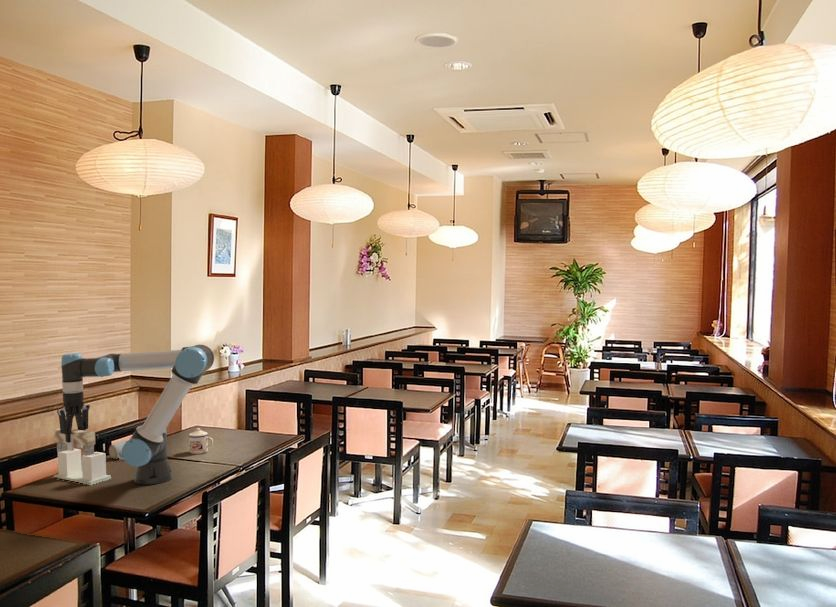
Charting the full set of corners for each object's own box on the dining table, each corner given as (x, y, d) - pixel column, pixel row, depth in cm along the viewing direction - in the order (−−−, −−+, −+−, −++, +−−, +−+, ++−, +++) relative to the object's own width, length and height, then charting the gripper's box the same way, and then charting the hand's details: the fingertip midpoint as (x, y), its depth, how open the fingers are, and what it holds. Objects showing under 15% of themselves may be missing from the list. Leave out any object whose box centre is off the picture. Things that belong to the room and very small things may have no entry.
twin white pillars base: (111, 479, 300) (110, 452, 300) (90, 485, 291) (89, 458, 291) (74, 472, 311) (73, 447, 311) (53, 478, 302) (52, 452, 302)
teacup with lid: (186, 454, 340) (185, 430, 340) (193, 449, 350) (193, 426, 349) (209, 454, 339) (208, 430, 339) (216, 449, 348) (216, 426, 348)
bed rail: (95, 454, 280) (94, 431, 280) (88, 456, 277) (87, 433, 277) (63, 449, 289) (62, 427, 289) (55, 451, 286) (54, 429, 286)
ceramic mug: (108, 458, 335) (107, 442, 335) (124, 454, 342) (123, 439, 341) (119, 462, 329) (118, 446, 328) (135, 458, 335) (135, 442, 334)
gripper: (84, 388, 291) (87, 443, 292) (48, 394, 276) (50, 452, 277) (96, 389, 288) (99, 445, 289) (60, 395, 273) (62, 454, 274)
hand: (75, 448), depth 283 cm, fingers closed on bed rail, 3 cm apart
